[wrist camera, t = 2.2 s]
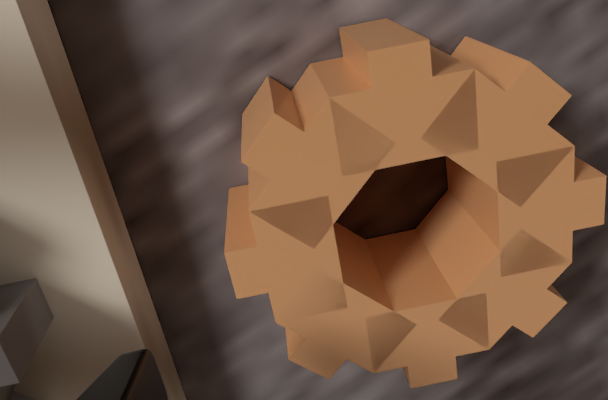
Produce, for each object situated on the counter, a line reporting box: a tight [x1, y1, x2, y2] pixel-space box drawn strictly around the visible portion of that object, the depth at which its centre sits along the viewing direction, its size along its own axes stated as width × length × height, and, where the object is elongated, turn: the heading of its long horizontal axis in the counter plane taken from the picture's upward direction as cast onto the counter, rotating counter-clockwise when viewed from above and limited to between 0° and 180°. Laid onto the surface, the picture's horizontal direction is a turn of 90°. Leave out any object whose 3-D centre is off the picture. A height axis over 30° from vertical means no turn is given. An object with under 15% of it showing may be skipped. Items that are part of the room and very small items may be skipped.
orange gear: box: [224, 18, 606, 388], centre depth 12 cm, size 7×7×3 cm
